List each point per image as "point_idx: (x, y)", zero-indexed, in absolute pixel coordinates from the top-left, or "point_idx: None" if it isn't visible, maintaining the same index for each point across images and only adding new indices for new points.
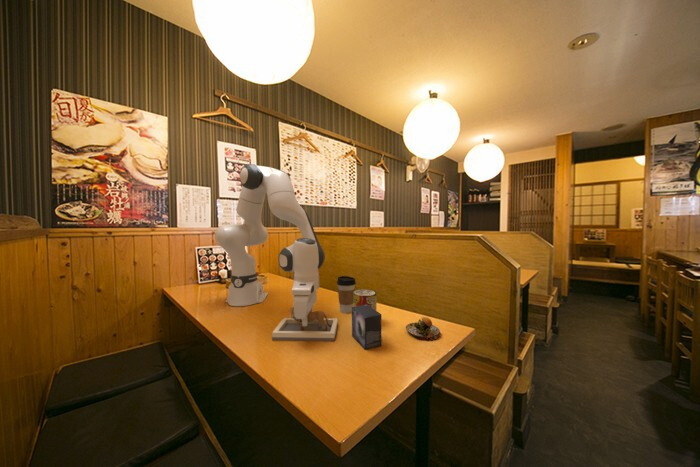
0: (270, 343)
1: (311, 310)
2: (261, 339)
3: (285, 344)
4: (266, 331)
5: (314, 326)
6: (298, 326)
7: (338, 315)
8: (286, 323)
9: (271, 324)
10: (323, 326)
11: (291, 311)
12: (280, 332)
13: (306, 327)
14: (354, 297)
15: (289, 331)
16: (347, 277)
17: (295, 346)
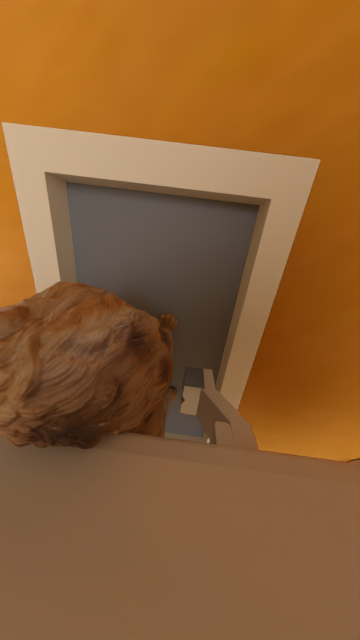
0: (7, 152)
1: (208, 437)
2: (41, 43)
3: (20, 251)
4: (178, 35)
5: (183, 373)
6: (193, 297)
7: (318, 448)
8: (254, 204)
9: (326, 36)
10: (179, 406)
11: (23, 306)
12: (24, 202)
13: (174, 340)
14: None
15: (51, 266)
16: None
17: (16, 301)
